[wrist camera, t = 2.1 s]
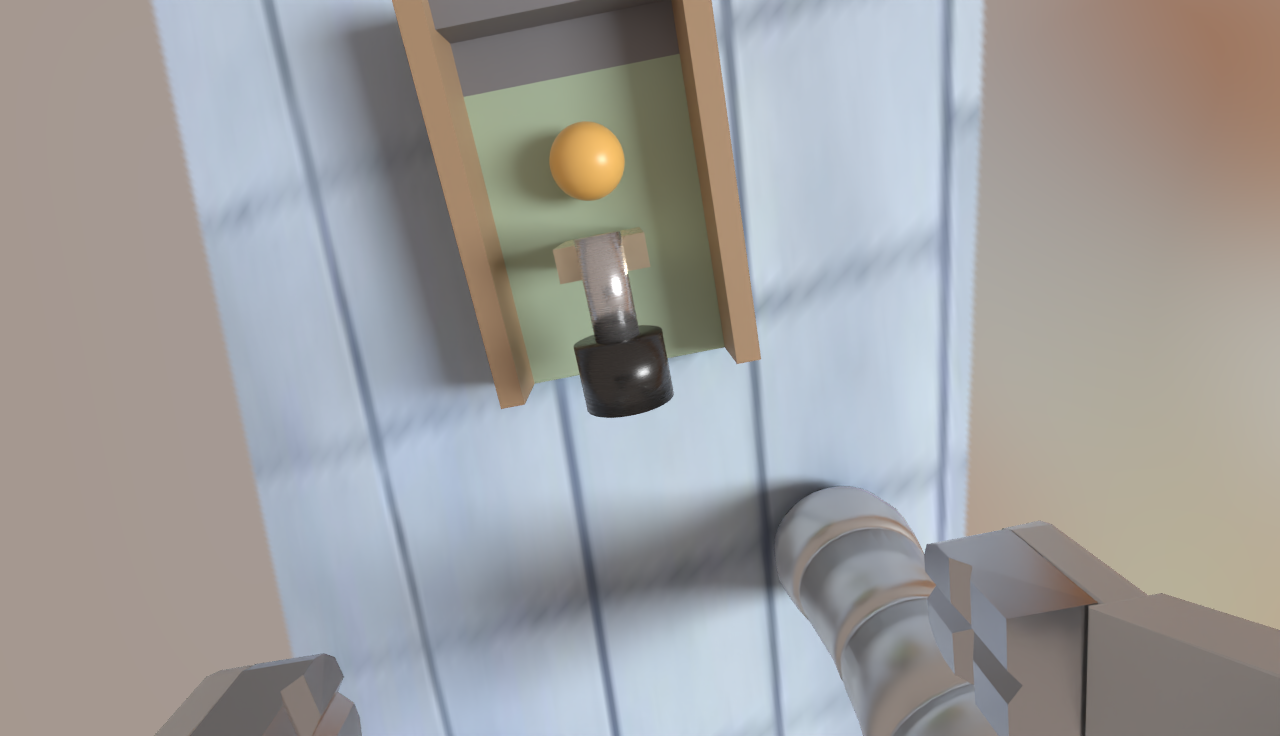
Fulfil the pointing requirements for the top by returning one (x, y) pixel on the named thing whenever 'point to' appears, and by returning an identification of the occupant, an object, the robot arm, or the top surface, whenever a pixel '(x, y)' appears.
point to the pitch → (544, 214)
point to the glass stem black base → (615, 326)
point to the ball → (586, 161)
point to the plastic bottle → (873, 613)
